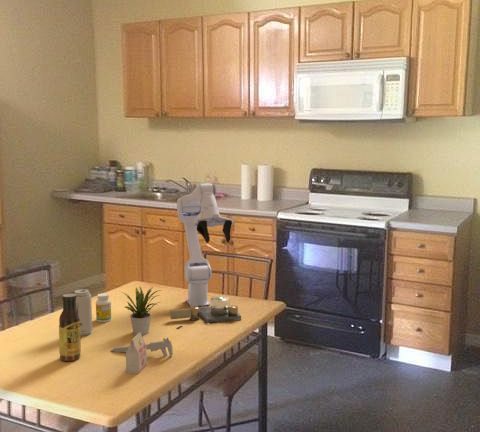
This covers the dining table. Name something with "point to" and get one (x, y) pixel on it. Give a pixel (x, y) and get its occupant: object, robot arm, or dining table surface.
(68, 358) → the sauce bottle
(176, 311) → the ball-topped bar
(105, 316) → the supplement bottle
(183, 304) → the dining table surface
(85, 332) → the energy drink can
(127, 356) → the paper snack bag
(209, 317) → the levelling base
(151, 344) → the caliper
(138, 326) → the house plant
